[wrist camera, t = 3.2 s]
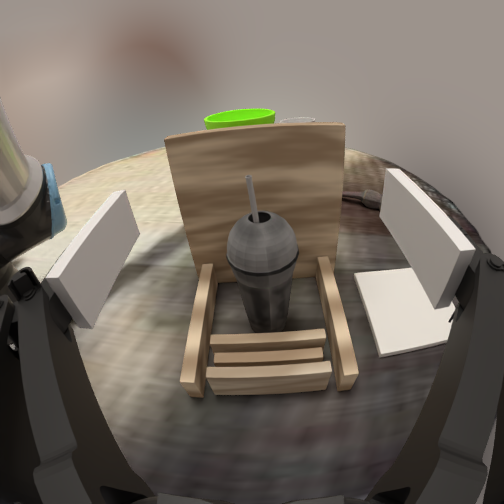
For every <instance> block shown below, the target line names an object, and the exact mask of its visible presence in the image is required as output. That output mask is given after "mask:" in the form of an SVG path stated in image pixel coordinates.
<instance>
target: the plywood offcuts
mask: <svg viewBox="0 0 504 504" xmlns="http://www.w3.org/2000/svg"><path fill="white" fill-rule="evenodd" d="M325 340H326V335H325V330H324V329H314V330H303V331H289V332H274V333H254V334H222V335H211V338H210V346H211V348H212V351H213V354H214V365H215V367H207V371H206V379H207V381H208V383H209V384H210V386H211V388H212V390H213V392H214V394H215V395H260V394H281V393H296V392H307V391H317V390H326V387H327V385H328V382H329V379H330V376H331V373H332V369H331V363H330V361H324V362H322V361H323V350H324V345H325Z"/></svg>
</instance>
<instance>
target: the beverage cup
mask: <svg viewBox="0 0 504 504" xmlns="http://www.w3.org/2000/svg"><path fill="white" fill-rule="evenodd" d="M245 178H246V183H247V189H248V194H249V200H250V205H251V211H252V212H251V213H249V214H246V215H244V216H243V217H242V218H240V219H239V220H238V221H237V222H236V223H235V225H234V226H233V228H232V229H231V231H230V233H229V237H228V242H227V254H226V258H227V261H228V264H229V265H230V266H231V269H232V271H233V274H234V276H235V278H236V280H237V283H238V286H239V290H240V293H241V296H242V300H243V303H244V306H245V310H246V313H247V316H248V319H249V322H250V324H251V327H252V329H253V330H254V331H255V333H274V332H281V331H282V330H283V329H284V327H285V324H286V318H287V315H288V308H289V300H290V293H291V285H292V277H293V271H294V268H295V265H296V261H297V258H298V255H299V249H298V244H297V241H296V236H295V233H294V231H293V229H292V228H291V226H290V225H289V224H288V222H287V221H286V220H285V219H284V218H282V217H281V216H279V215H277V214H276V213H273V212H269V211H257V205H256V199H255V194H254V188H253V182H252V176H251V175H247V176H246V177H245Z"/></svg>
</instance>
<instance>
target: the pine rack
mask: <svg viewBox="0 0 504 504" xmlns="http://www.w3.org/2000/svg"><path fill="white" fill-rule="evenodd" d="M164 142H165V147H166V151H167V156H168V161H169V165H170V170H171V174H172V178H173V183H174V187H175V191H176V195H177V200H178V204H179V208H180V212H181V216H182V219H183V223H184V227H185V231H186V235H187V239H188V242H189V246H190V250H191V253H192V257H193V260H194V264H195V267H196V271H197V274H198V278H199V283H198V288H197V292H196V297H195V302H194V307H193V312H192V317H191V322H190V327H189V333H188V338H187V343H186V349H185V355H184V360H183V366H182V372H181V378H180V383H181V384H182V386H183V387H184V388H185V390H186V391H187V393H188V394H189V395H190V397H204V389H205V380H206V371H207V363H208V355H209V346H210V338H211V331H212V323H213V315H214V308H215V300H216V293H217V286H218V283H222V282H237V280H236V278H235V276H234V274H233V271H232V269H231V266H230V265H229V264H228V261H227V258H226V254H227V242H228V237H229V233H230V231H231V229H232V228H233V226H234V225H235V223H236V222H237V221H238V220H239V219H240V218H242V217H243V216H244V215H246V214H249V213H251V212H252V211H251V205H250V200H249V194H248V189H247V183H246V178H245V177H246V176H247V175H251V176H252V182H253V188H254V194H255V199H256V205H257V211H269V212H273V213H276V214H277V215H279V216H281V217H282V218H284V219H285V220H286V221H287V222H288V224H289V225H290V226H291V228H292V229H293V231H294V233H295V236H296V241H297V244H298V249H299V255H298V258H297V261H296V265H295V268H294V271H293V277H292V278H306V277H316V281H317V286H318V290H319V295H320V300H321V304H322V309H323V314H324V319H325V324H326V329H327V334H328V339H329V345H330V350H331V356H332V361H333V367H334V373H335V379H336V385H337V391H343V390H349V389H351V388H352V386H353V384H354V382H355V380H356V378H357V376H358V374H359V372H358V367H357V363H356V359H355V354H354V350H353V346H352V342H351V337H350V333H349V329H348V325H347V322H346V318H345V314H344V310H343V306H342V303H341V299H340V296H339V292H338V288H337V285H336V281H335V278H334V267H335V260H336V252H337V243H338V234H339V225H340V214H341V203H342V190H343V174H344V155H345V125H344V124H343V123H334V122H332V123H331V122H305V123H277V124H260V125H248V126H237V127H227V128H218V129H210V130H204V131H196V132H190V133H183V134H177V135H172V136H167V138H165V139H164Z"/></svg>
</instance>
